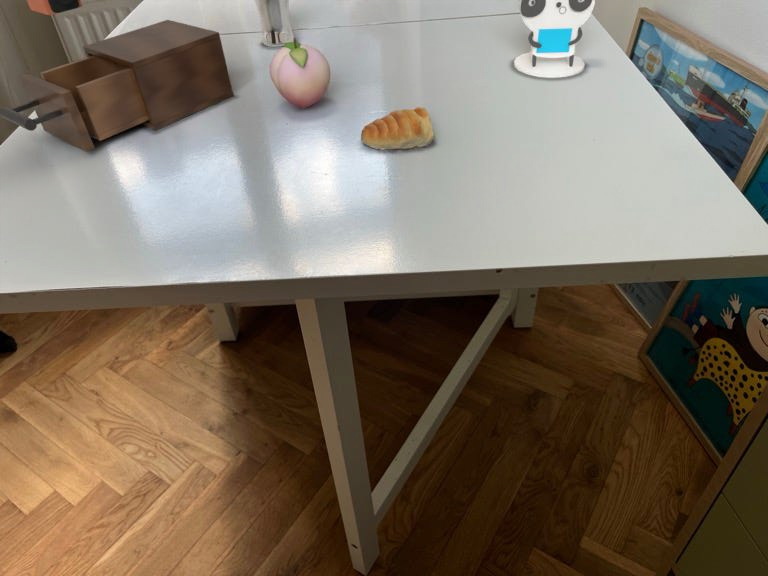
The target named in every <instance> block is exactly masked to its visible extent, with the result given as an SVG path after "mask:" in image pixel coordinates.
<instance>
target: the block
mask: <svg viewBox="0 0 768 576" xmlns="http://www.w3.org/2000/svg"><path fill="white" fill-rule="evenodd" d="M26 2H27V5H28V7H29V9H30V11H33V12H36V13H40V14H43V15H46V16H51V15H55V14H57V13H55V12H53V11H52V10H51V7H50V5H49V2H48V0H26ZM78 2H79V7H78V8H82V7H83V4H82V1H81V0H78Z"/></svg>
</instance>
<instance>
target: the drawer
mask: <svg viewBox="0 0 768 576" xmlns="http://www.w3.org/2000/svg"><path fill="white" fill-rule="evenodd" d="M39 74H40V77H41V78H39V77H37V76H35V75H32V74H29V73H23V74H21V75H18V79H19V82H21V85H22V87H23V89H24V91H25V93H26V95H27V97H28V99H29V101H28V102H25V103H22V104H19V105H17V106H14V107H11V108H9V107H7V106H2V107H0V117H1V118H4V119H5V120H7V121H9V122H11V123H14V124H15V125H17V126H18V127H21V128H22V129H25V130H27V131H31V132H32V131H35V130H36V129H37V126H38V125H40V124H41V127H42V128H43V131H44V132H46V133H47V134H49V135H52V136H54V137H56V138H58V139H60V140H63V141H64V142H67V143H69V144H70V145H73V146H74V147H77V148H79V149H80V150H83V151H85V152H90V151H92V150H94V149H95V145H94V143H93V140H92V138H93V139H95V140H98V141H99V142H102V141H103V140H105V139H108V138H110V137H112V136H115V135H118V134H119V133H122V132H124V131H126V130H129V129H131V128H134V127H136V126H139V125H141V123H143V122H145V121H148V120H149V118H148V115H147V112H146V109H145V106H144V103H143V100H142V97H141V94H140V91H139V88H138V85H137V82H136V79H135V76H134V74H133V71H132V68H131V67H128V66H125V65H122V64H119V63H116V62H113V61H110V60H107V59H104V58H101V57H98V56H95V55H92V56H89V57H87V56H86V57H83V58H80V59H77V60H74V61H70V62H68V63H65V64H62V65H58V66H56V67H52V68H50V69H47V70H44V71H40V72H39ZM32 108H33V110H34V112H35V114H36V116H37V117H35V118H33V119H32V118H30V117H28V116H26V115H24V114H22V113H20V112H24V111H26V110H29V109H32Z"/></svg>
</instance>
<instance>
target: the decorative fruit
mask: <svg viewBox="0 0 768 576" xmlns="http://www.w3.org/2000/svg"><path fill="white" fill-rule="evenodd" d="M293 40H294V41H293V42H287V43H285V44H284V46H282V48H281V47H280V49H278V50H277V51H276V52H275V53H274V54H273V56H272V58H271V60H270V64H269V76H270V79H271V81H272V83H273V85H274V87H275V89H276V91H278V94H280V95H281V96H282V97H283V98H284V99H285V100H286V101H287V102H289V104H291V105H293V106H295V107H297V108H299V109H306V108H309V107H311V106H312V105H315V104H316V103H317V102H318V101H320V100H321V99H322V98H323V97H324V95H325V93H326V92H327V90H328V88H329V86H330V82H331V67H330V64H329V62H328V60H327V58H326V57H325V55H324V54H323V53H322V52H321V51H320V50H318V49H317V48H316V47H313V46H312V45H309V44H302V43H301V42H299V41H297V39H296V38H295V37H294V38H293Z"/></svg>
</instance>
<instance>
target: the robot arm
mask: <svg viewBox="0 0 768 576" xmlns="http://www.w3.org/2000/svg"><path fill="white" fill-rule="evenodd" d="M48 2H49V5H50V7H51V10H52V11H53V12H55V13H56V14H60V13H64V12H67V11H72V10H76V9H78V8H80V7H79V2H78V0H48Z"/></svg>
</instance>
